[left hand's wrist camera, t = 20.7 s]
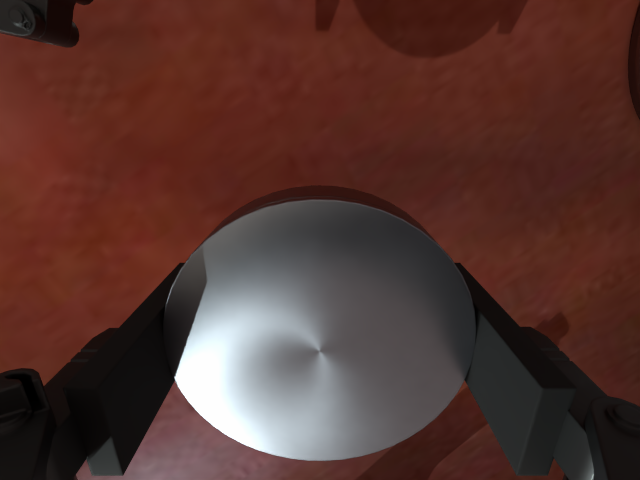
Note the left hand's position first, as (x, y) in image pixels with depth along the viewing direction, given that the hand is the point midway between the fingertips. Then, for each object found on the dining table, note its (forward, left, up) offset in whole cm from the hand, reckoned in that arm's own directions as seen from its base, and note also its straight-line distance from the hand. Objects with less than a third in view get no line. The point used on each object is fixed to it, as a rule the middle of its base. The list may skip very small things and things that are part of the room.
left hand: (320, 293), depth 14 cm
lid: (0, 0, +3) cm, 3 cm away
